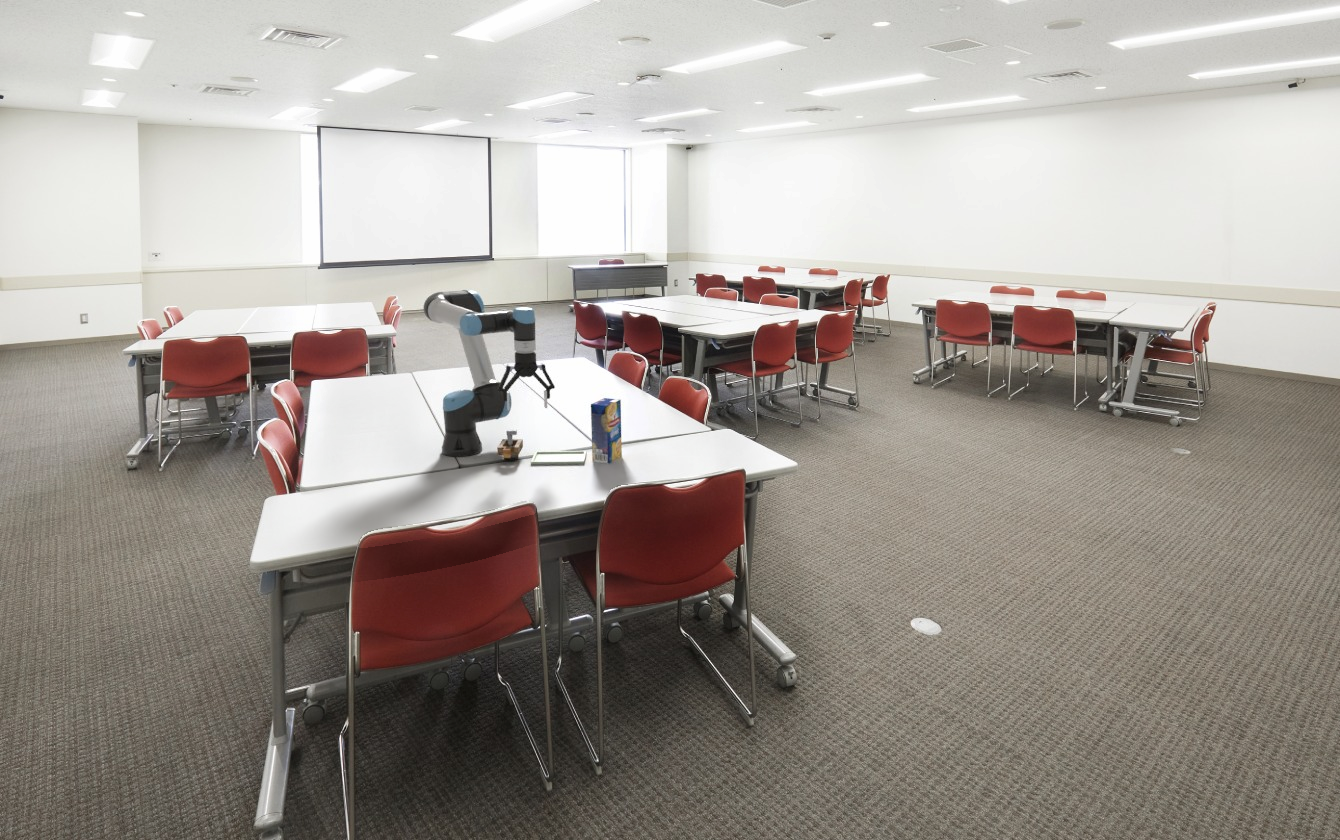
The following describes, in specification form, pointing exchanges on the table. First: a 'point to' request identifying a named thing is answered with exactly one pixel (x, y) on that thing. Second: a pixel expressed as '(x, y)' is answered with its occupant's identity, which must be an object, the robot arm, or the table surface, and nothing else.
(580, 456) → the tray
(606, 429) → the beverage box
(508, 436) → the gray post stand
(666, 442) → the table surface
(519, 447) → the wooden rectangular frame
